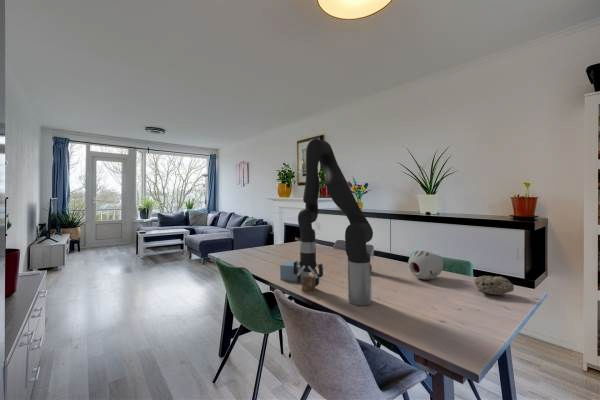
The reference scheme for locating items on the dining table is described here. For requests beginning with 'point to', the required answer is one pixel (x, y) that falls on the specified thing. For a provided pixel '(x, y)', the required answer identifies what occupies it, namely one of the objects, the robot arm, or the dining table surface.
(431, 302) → the dining table surface
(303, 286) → the walnut block
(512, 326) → the dining table surface
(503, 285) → the pumice stone
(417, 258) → the decorative object
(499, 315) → the dining table surface
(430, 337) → the dining table surface
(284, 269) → the slate-blue plinth
